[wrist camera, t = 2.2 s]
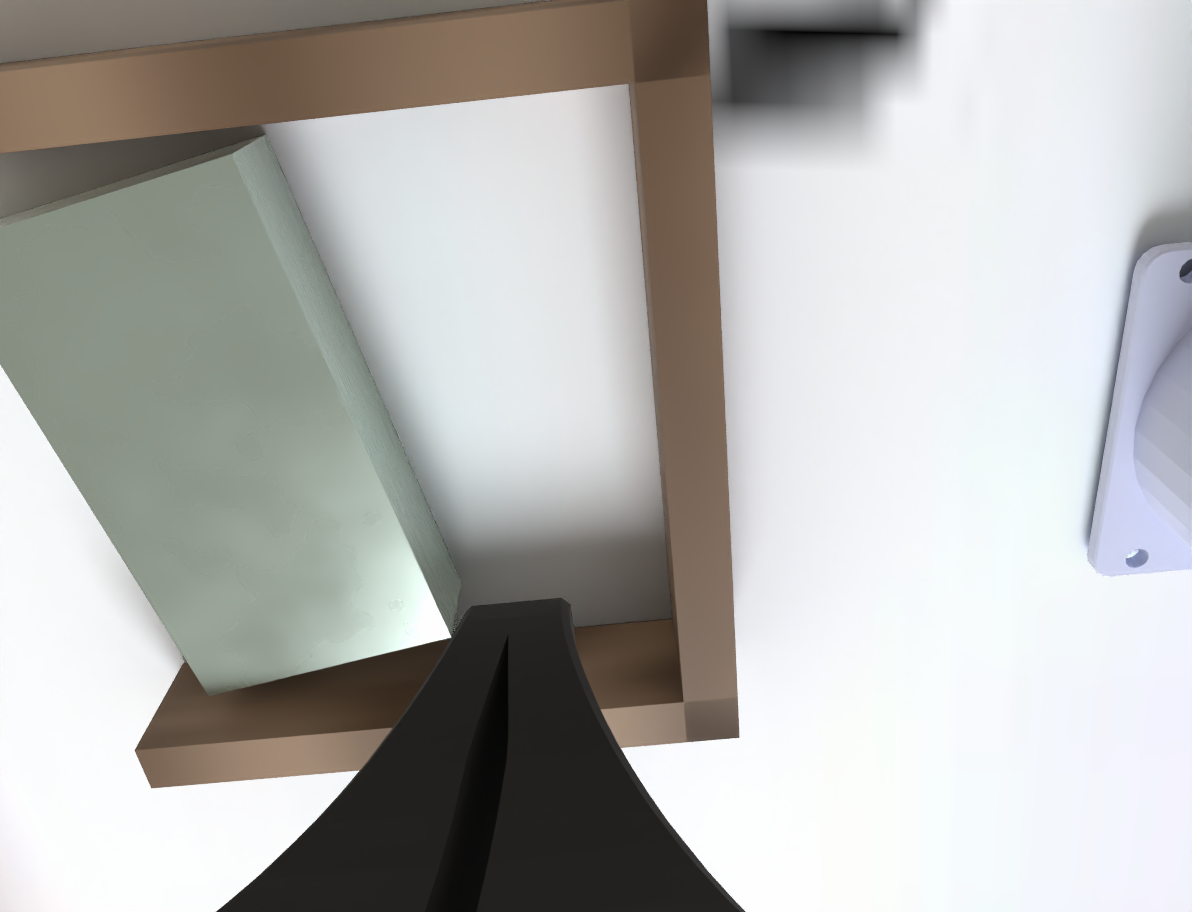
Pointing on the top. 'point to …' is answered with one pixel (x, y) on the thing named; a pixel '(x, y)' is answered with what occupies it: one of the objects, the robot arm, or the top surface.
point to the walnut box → (674, 306)
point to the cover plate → (222, 419)
